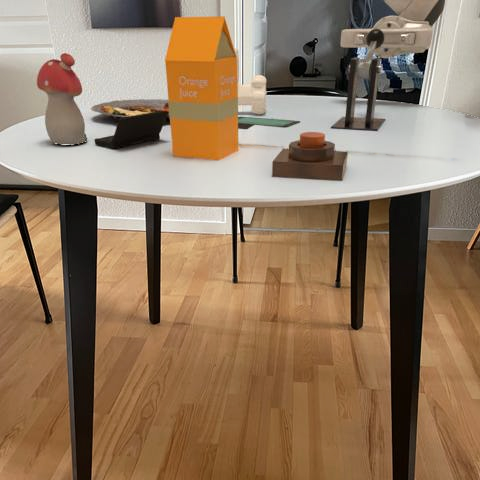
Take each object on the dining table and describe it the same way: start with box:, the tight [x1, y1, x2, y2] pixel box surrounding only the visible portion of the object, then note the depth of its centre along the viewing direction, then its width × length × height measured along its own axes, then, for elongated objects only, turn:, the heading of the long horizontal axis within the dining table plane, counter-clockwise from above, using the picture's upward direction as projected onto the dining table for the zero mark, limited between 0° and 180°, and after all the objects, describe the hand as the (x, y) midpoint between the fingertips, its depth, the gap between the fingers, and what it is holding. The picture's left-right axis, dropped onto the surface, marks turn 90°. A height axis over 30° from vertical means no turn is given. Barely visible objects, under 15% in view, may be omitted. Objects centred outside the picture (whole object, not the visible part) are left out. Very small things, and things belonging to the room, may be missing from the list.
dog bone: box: [238, 74, 268, 115], centre depth 117 cm, size 15×9×8 cm, turn 85°
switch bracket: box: [330, 57, 386, 132], centre depth 98 cm, size 12×9×13 cm
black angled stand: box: [94, 110, 168, 149], centre depth 91 cm, size 12×7×10 cm
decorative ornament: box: [36, 52, 88, 145], centre depth 90 cm, size 9×7×15 cm
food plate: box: [90, 98, 170, 120], centre depth 116 cm, size 25×23×4 cm
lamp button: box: [299, 131, 326, 148], centre depth 72 cm, size 4×4×2 cm
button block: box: [271, 139, 349, 182], centre depth 73 cm, size 10×8×4 cm
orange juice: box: [164, 16, 239, 161], centre depth 80 cm, size 8×9×20 cm
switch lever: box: [357, 28, 384, 80], centre depth 98 cm, size 14×4×4 cm, turn 159°
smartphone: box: [238, 116, 301, 130], centre depth 105 cm, size 7×1×15 cm
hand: (381, 39), depth 109 cm, fingers open, 8 cm apart
